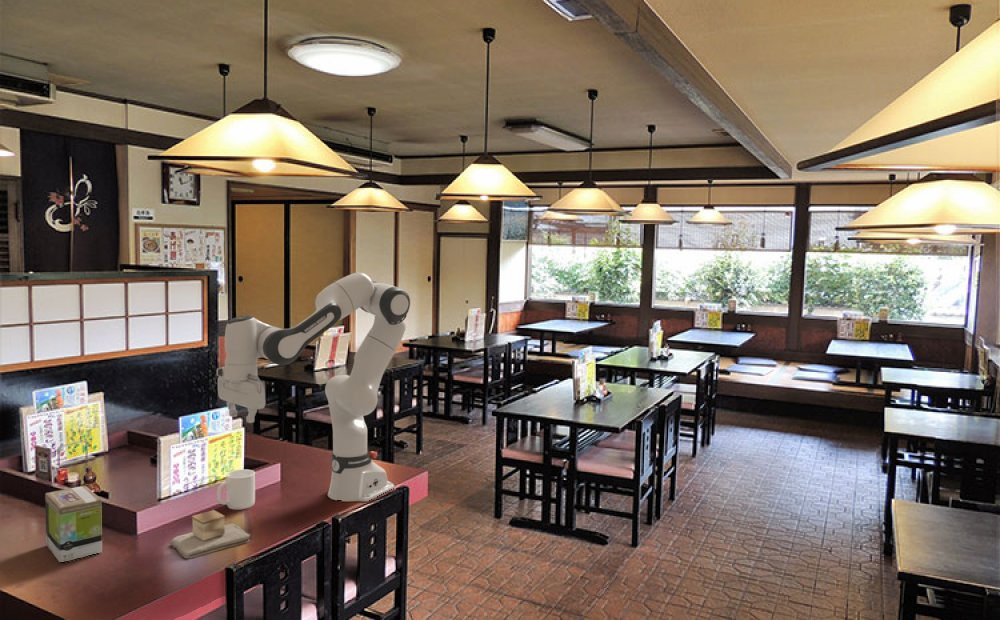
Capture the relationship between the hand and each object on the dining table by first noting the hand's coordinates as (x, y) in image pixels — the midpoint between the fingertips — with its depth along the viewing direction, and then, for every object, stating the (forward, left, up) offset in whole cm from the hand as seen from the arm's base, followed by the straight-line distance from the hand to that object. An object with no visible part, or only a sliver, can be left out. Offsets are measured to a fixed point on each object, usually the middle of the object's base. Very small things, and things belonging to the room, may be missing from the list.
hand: (241, 419), depth 197 cm
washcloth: (+13, +6, -32) cm, 35 cm away
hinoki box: (+13, +5, -29) cm, 32 cm away
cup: (-5, -13, -31) cm, 34 cm away
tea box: (+39, -16, -31) cm, 52 cm away
